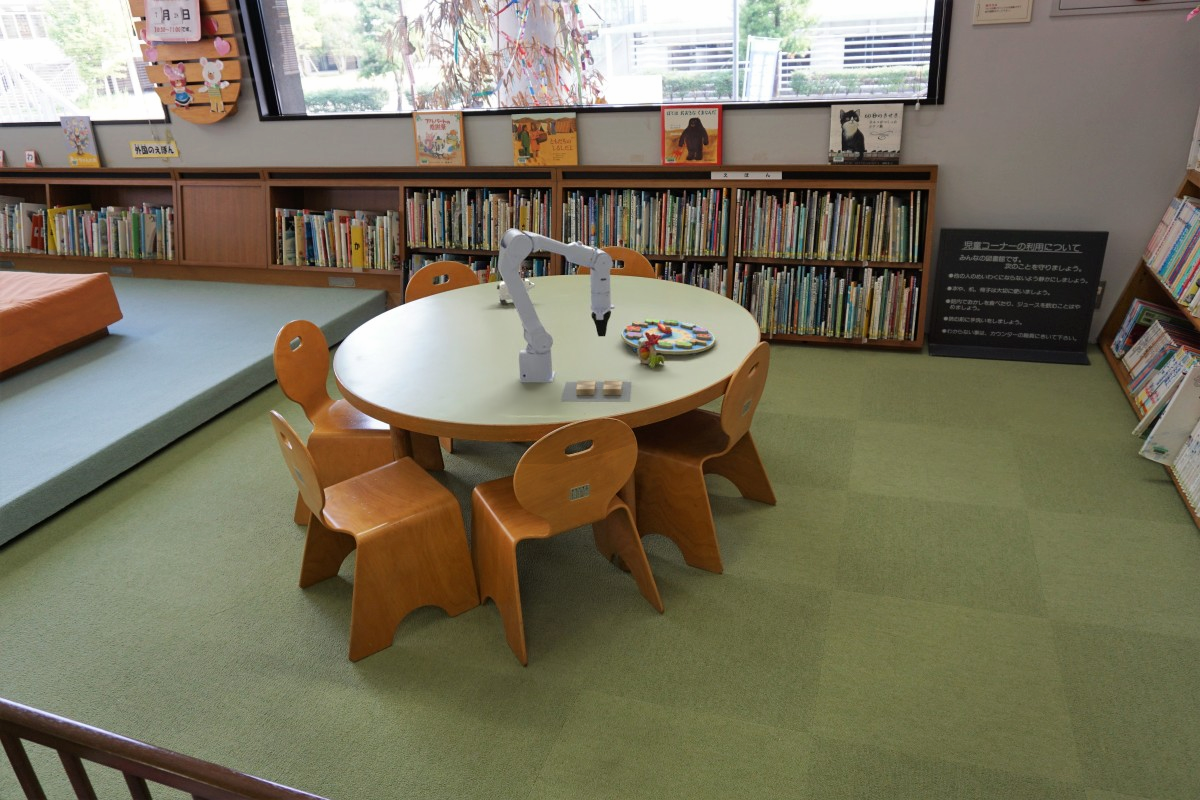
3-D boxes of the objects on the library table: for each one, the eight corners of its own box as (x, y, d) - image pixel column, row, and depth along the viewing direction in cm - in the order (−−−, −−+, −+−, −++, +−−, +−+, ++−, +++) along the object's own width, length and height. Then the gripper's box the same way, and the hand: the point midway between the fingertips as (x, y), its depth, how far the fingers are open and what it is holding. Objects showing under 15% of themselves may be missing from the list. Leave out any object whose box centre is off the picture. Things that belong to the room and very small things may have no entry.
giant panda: (498, 306, 308) (496, 281, 304) (497, 302, 313) (495, 278, 309) (536, 302, 311) (535, 278, 307) (534, 299, 316) (533, 275, 312)
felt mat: (560, 402, 222) (560, 401, 222) (565, 383, 235) (565, 382, 235) (629, 402, 221) (629, 401, 221) (631, 383, 234) (631, 381, 233)
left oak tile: (578, 387, 231) (576, 395, 225) (578, 380, 230) (576, 389, 224) (595, 387, 230) (594, 395, 225) (595, 380, 230) (594, 389, 224)
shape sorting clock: (711, 362, 248) (711, 343, 246) (613, 358, 254) (613, 339, 252) (717, 330, 276) (718, 313, 273) (629, 327, 282) (629, 310, 279)
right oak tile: (604, 387, 230) (603, 395, 225) (604, 380, 229) (603, 389, 224) (622, 387, 230) (621, 395, 224) (622, 380, 229) (621, 389, 224)
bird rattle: (636, 373, 246) (657, 368, 239) (625, 338, 245) (646, 332, 238) (649, 367, 250) (670, 362, 244) (638, 333, 249) (659, 327, 242)
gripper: (613, 298, 229) (614, 343, 234) (615, 284, 242) (616, 327, 247) (588, 298, 229) (589, 343, 235) (592, 284, 242) (593, 328, 248)
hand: (601, 335), depth 241 cm, fingers closed
